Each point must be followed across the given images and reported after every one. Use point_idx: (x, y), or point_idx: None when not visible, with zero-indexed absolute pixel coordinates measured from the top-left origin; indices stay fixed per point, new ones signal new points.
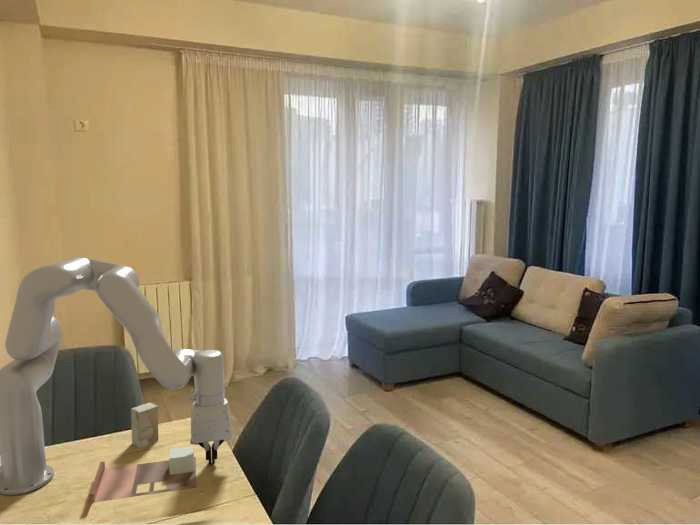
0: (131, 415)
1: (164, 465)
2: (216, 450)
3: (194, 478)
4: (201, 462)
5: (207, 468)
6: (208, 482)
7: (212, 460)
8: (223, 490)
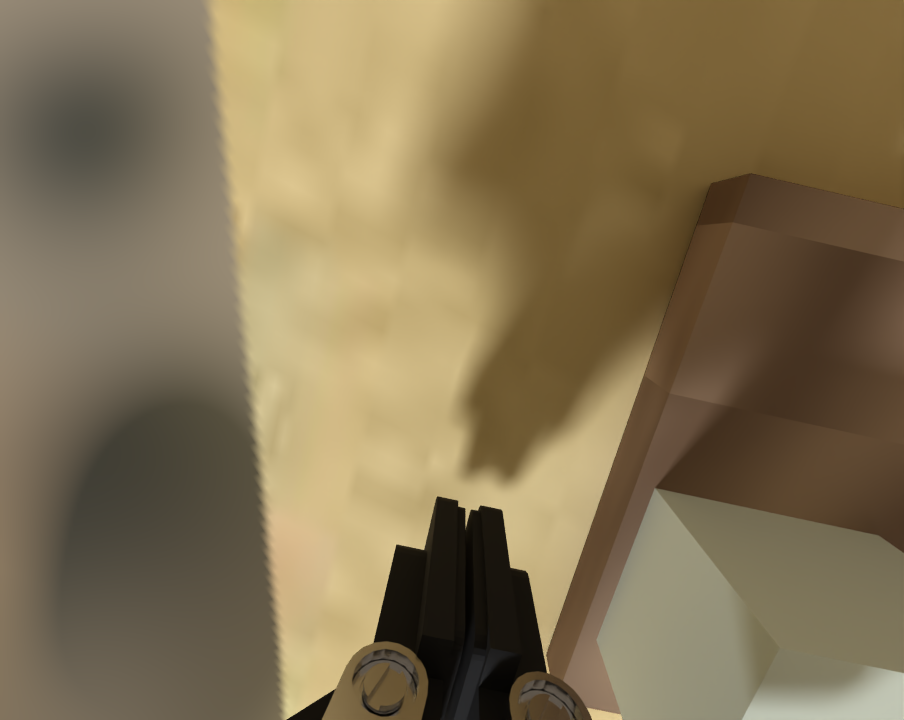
0: None
1: None
2: (385, 640)
3: (696, 359)
4: None
5: None
6: (544, 311)
7: (460, 530)
8: (451, 89)
